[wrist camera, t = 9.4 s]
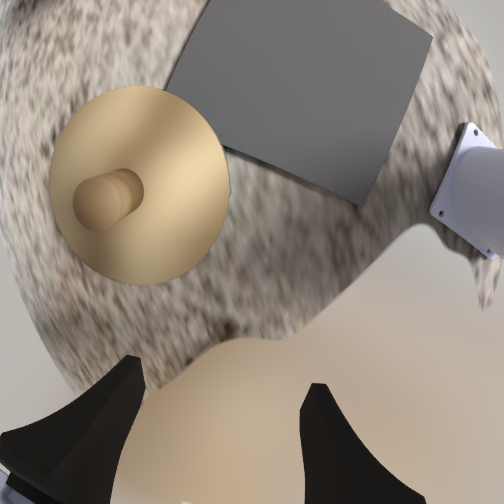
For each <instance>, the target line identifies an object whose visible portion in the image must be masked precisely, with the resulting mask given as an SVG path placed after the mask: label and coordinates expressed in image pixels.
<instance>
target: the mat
mask: <svg viewBox="0 0 504 504" xmlns="http://www.w3.org/2000/svg"><path fill="white" fill-rule="evenodd" d="M432 39H433V37H432V36H431V35H430V34H428V33H427V32H426V31H424V30H423V29H421V28H420V27H419V26H417V25H416V24H414V23H413V22H411V21H410V20H408V19H407V18H405V17H404V16H402V15H401V14H399V13H397V12H396V11H394V10H392V9H391V8H389V7H387V6H386V5H384V4H382V3H380V2H379V1H377V0H211V1H210V2H209V4H208V6H207V8H206V9H205V11H204V13H203V15H202V16H201V18H200V20H199V22H198V24H197V26H196V27H195V29H194V31H193V33H192V35H191V37H190V39H189V41H188V43H187V45H186V47H185V49H184V51H183V53H182V55H181V57H180V59H179V62H178V64H177V66H176V68H175V70H174V73H173V75H172V77H171V79H170V82H169V84H168V86H167V89H166V92H168V93H171V94H173V95H175V96H178V97H180V98H181V99H183V100H185V101H186V102H188V103H189V104H191V105H192V106H193V107H194V108H195V109H197V110H198V111H199V112H200V113H201V114H202V115H203V116H204V117H205V119H206V120H207V121H208V122H209V123H210V125H211V126H212V128H213V129H214V131H215V133H216V134H217V136H218V138H219V140H220V142H221V144H222V145H225V146H227V147H230V148H232V149H235V150H238V151H240V152H243V153H245V154H248V155H250V156H252V157H255V158H257V159H260V160H262V161H264V162H267V163H269V164H272V165H274V166H276V167H278V168H281V169H283V170H285V171H288V172H290V173H292V174H294V175H296V176H299V177H301V178H303V179H305V180H307V181H309V182H312V183H314V184H316V185H318V186H320V187H322V188H324V189H326V190H328V191H330V192H332V193H334V194H336V195H338V196H340V197H342V198H344V199H346V200H348V201H350V202H352V203H354V204H356V205H358V206H360V207H362V206H363V204H364V202H365V200H366V198H367V196H368V194H369V192H370V190H371V188H372V186H373V184H374V182H375V180H376V177H377V175H378V173H379V171H380V169H381V167H382V165H383V163H384V160H385V158H386V156H387V154H388V152H389V150H390V147H391V145H392V143H393V141H394V138H395V136H396V134H397V131H398V129H399V127H400V124H401V122H402V120H403V117H404V115H405V112H406V110H407V108H408V105H409V103H410V100H411V98H412V95H413V92H414V90H415V87H416V85H417V82H418V79H419V77H420V74H421V71H422V68H423V66H424V63H425V60H426V57H427V54H428V51H429V48H430V45H431V42H432Z"/></svg>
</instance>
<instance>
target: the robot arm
mask: <svg viewBox="0 0 504 504" xmlns="http://www.w3.org/2000/svg"><path fill="white" fill-rule="evenodd" d="M474 130H475V135H474ZM440 211H442V213H441V215H440V216H439V212H440ZM430 214H431V215H432V216H433V217H435V218H436V219H438V220H439V221H440V222H442V223H443V224H445V225H446V226H448V227H449V228H450V229H452V230H453V231H454V232H456V233H457V234H458V235H460V236H461V237H462V238H464V239H465V240H466V241H468V242H469V243H470V244H472V245H473V246H474V247H475V248H477V249H478V250H479V251H480V252H482V253H483V254H484V255H485V256H487V257H488V258H489V259H490V260H494V259H495V258H496V256H497V255H499V256H500V257H502V258H503V259H504V150H503V149H498V148H497V147H496V146H495V145H494V144H493V143H492V142H491V141H490V140H489V138H488V137H487V136H486V135H485V134H484V133H483V132H482V131H481V130H480V129H479V128H478V127H477V126H476V125H475V124H474V123H472V122H466V124H465V126H464V129H463V131H462V134H461V137H460V140H459V142H458V145H457V147H456V150H455V153H454V155H453V157H452V160H451V162H450V165H449V167H448V169H447V172H446V174H445V176H444V179H443V181H442V183H441V185H440V187H439V190H438V192H437V194H436V196H435V198H434V200H433V202H432V204H431V206H430ZM487 250H488V251H487ZM145 388H146V387H145V382H144V376H143V371H142V365H141V358H139V357H135V356H131V355H126V356H125V357H124V358H123V359H122V360H121V361H120V362H119V363H118V364H117V365H116V366H114V367H113V368H112V369H111V370H110V371H109V372H108V373H107V374H106V375H105V376H104V377H102V378H101V379H100V380H99V381H98V382H97V383H96V384H94V385H93V386H92V387H91V388H90V389H88V390H87V391H86V392H85V393H83V394H82V395H81V396H79V397H78V398H77V399H75V400H74V401H73V402H71V403H70V404H68V405H66V406H65V407H63V408H62V409H60V410H58V411H57V412H55V413H53V414H51V415H49V416H47V417H45V418H43V419H41V420H39V421H37V422H34V423H32V424H29V425H27V426H24V427H21V428H17V429H14V430H10V431H7V432H3V433H2V434H1V436H0V463H1V464H2V465H3V466H5V467H6V468H7V469H8V470H9V471H10V472H11V473H10V475H9V476H8V475H7V474H6V473H5V472H3V471H2V470H1V469H0V504H110V499H111V494H112V487H113V482H114V478H115V474H116V470H117V466H118V462H119V458H120V455H121V451H122V449H123V446H124V443H125V441H126V438H127V436H128V434H129V431H130V429H131V427H132V425H133V422H134V420H135V418H136V415H137V413H138V411H139V408H140V406H141V402H142V399H143V395H144V392H145ZM300 437H301V447H302V455H303V462H304V472H305V504H426V501H425V498H424V496H422V495H420V494H419V493H417V492H416V491H414V490H412V489H411V488H409V487H408V486H406V485H405V484H404V483H402V482H401V481H400V480H398V479H397V478H396V477H395V476H394V475H393V474H391V473H390V472H389V471H388V470H387V469H386V468H385V467H384V466H383V465H381V464H380V462H379V461H378V460H377V459H376V458H375V457H374V456H373V455H372V454H371V453H370V452H369V450H368V449H367V448H366V447H365V445H364V444H363V443H362V442H361V440H360V439H359V438H358V436H357V435H356V433H355V432H354V431H353V429H352V428H351V426H350V424H349V423H348V421H347V420H346V418H345V416H344V415H343V413H342V412H341V410H340V408H339V406H338V405H337V403H336V401H335V399H334V398H333V396H332V394H331V392H330V390H329V388H328V386H327V385H326V384H320V383H312V384H311V387H310V389H309V391H308V394H307V396H306V398H305V400H304V402H303V404H302V407H301V409H300Z"/></svg>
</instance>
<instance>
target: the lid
mask: <svg viewBox="0 0 504 504" xmlns="http://www.w3.org/2000/svg"><path fill="white" fill-rule="evenodd" d="M49 192H50V200H51V206H52V210H53V213H54V217H55V220H56V222H57V225H58V227H59V229H60V231H61V233H62V235H63V237H64V239H65V240H66V242H67V243H68V245H69V246H70V248H71V249H72V250H73V251H74V252H75V254H76V255H77V256H78V257H79V258H80V259H81V260H82V261H83V262H84V263H85V264H87V265H88V266H89V267H91V268H92V269H93V270H95V271H96V272H98V273H100V274H101V275H103V276H105V277H107V278H110V279H112V280H115V281H118V282H121V283H125V284H131V285H155V284H160V283H164V282H167V281H170V280H173V279H175V278H177V277H179V276H181V275H183V274H184V273H186V272H188V271H189V270H190V269H192V268H193V267H194V266H195V265H197V264H198V263H199V262H200V260H201V259H202V258H203V257H204V256H205V255H206V254H207V252H208V251H209V250H210V248H211V247H212V245H213V244H214V242H215V240H216V238H217V236H218V234H219V232H220V230H221V228H222V225H223V222H224V219H225V217H226V213H227V208H228V204H229V194H230V177H229V169H228V164H227V159H226V156H225V153H224V150H223V147H222V145H221V142H220V140H219V138H218V136H217V134H216V133H215V131H214V129H213V128H212V126H211V125H210V123H209V122H208V121H207V120H206V119H205V117H204V116H203V115H202V114H201V113H200V112H199V111H198V110H197V109H195V108H194V107H193V106H192V105H191V104H189V103H188V102H186V101H185V100H183V99H181V98H180V97H178V96H175V95H173V94H171V93H168V92H166V91H163V90H160V89H156V88H152V87H145V86H129V87H121V88H117V89H113V90H110V91H108V92H105V93H103V94H101V95H99V96H97V97H95V98H94V99H92V100H90V101H89V102H88V103H86V104H85V105H84V106H83V107H81V108H80V109H79V110H78V111H77V112H76V113H75V115H74V116H73V117H72V118H71V119H70V121H69V122H68V123H67V125H66V126H65V128H64V129H63V131H62V133H61V135H60V137H59V139H58V141H57V144H56V146H55V149H54V152H53V156H52V160H51V165H50V173H49Z"/></svg>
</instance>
